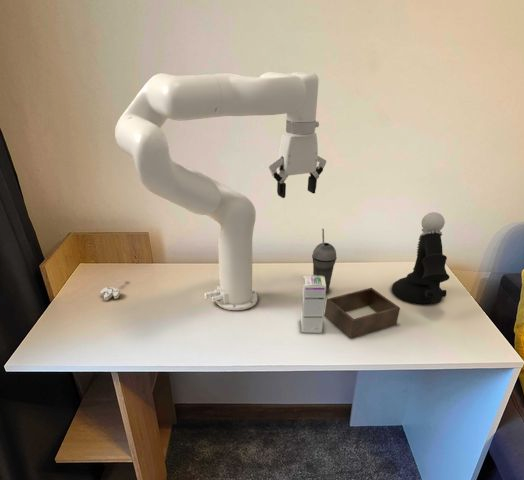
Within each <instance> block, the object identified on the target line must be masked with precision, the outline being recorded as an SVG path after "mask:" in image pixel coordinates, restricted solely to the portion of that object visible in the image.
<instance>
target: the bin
mask: <svg viewBox="0 0 524 480" xmlns="http://www.w3.org/2000/svg"><path fill="white" fill-rule="evenodd" d="M364 307H369V308H371V309H373V310H374V311H375V312H374V313H370V314H367V315H362V316H359V317H356V318H353V317H352V316H351V315H349V313H347V312H350V311H353V310H357V309H361V308H364ZM400 310H401V307H400V306H398V305H397V304H395V303H394V302H393V301H391V300H390V299H388V298H387V297H386V296H385V295H383V294H381V293H380V292H379V291H377V290H376V289H375V288H373V287H369V288H365V289H364V288H363V289H360V290H356V291H353V292H348V293H345V294H341V295H337V296H333V297H329V298H326V299H325V308H324V317H326V318H327V319H328V320H329V321H330V322H331V323H332V324H334V326H336V327H337V328H338V329H339V330H340V331H341V332H342V333H343V334H345V335H346V336H347V337H348V338H349V339H353V338H356V337H360V336H363V335H367V334H370V333H372V332H373V333H374V332H377V331H380V330H383V329H386V328H391V327H394V326H397V324H398V319H399V315H400Z"/></svg>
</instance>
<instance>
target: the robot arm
mask: <svg viewBox="0 0 524 480" xmlns="http://www.w3.org/2000/svg"><path fill="white" fill-rule="evenodd" d="M318 94H319V76H318V75H317V73H315V72H312V71H293V72H289V73H287V72H277V71H267V72H264V73H263V74H261V75H260V76H259V77H257V76H256V77H255V76H247V75H242V74H235V73H225V72H221V73H208V74H189V75H173V74H170V73H165V72H160V73H157V74H155V75H153V76H151V77H150V79H148V80H147V82H146V83H145V84H144V85H143V86H142V88H141V89H140V90H139V91H138V93H137V94H136V96H135V97H134V98H133V100H132V101H131V102H130V104H129V105H128V107H126V108H125V110H124V112H123V113H122V114H121V116H120V117H119V119H118V121H117V123H116V125H115V129H114V136H115V141H116V143H117V146H118V147H119V149H121V150H122V151H123V152H124V153H126V154H127V155H128V156H130V157H132V159H133V161H134V165H135V169H136V170H135V171H136V173H137V176H138V178H139V180H140V182H141V184H142V185H143V186H144V187H145V188H146V189H147V190H148V191H149V192H151V193H152V194H153V195H156V196H157V197H160V198H162V199H165V200H167V201H169V202H170V203H173V204H175V205H177V206H179V207H181V208H184V209H185V210H187V211H189V212H191V213H193V214H196V215H199V216H200V215H201V216H207V217H209V218H211V220H214V221H215V222H216V223H218V224H219V225H220V231H219V235H218V240H217V253H218V255H217V256H218V272H219V285H216V289H214V290H213V291H207V292H204V293H203V295H204V299H205V300H210V299H211V302H215V304H216V305H217V306H219V307H220V308H222V309H225V310H228V311H244V310H248V309H251V308H252V307H254V306H256V304H257V303H258V294H257V293H256V291H254V290H253V236H254V229H255V224H256V220H257V219H256V218H257V213H256V208H255V205H254V203H253V202H252V200H250V199H249V198H248V197H247V196H246V195H245V194H242V193H241V192H239V191H237V190H235V189H232V188H231V187H230V186H227V184H224V183H222V182H219V181H218V180H216V179H213V178H211V177H210V176H208V175H206V174H204V173H202V172H200V171H198V170H196V169H194V168H191V167H184V166H183V165H181V164H179V163H177V162H176V161H173V159H172V158H171V155H170V150H169V141H168V139H167V137H166V134H165V132H164V131H163V130H162V129H161V128H162V127H163V126H164V124H166V121H167V120H168V119H170V120H172V121H180V122H181V121H192V120H201V119H211V118H219V117H220V118H221V117H247V116H249V117H250V116H251V117H253V116H278V115H285V114H286V116H285V117H286V118H285V119H286V123H285V132H283V133H282V135H281V139H280V145H279V150H278V151H279V152H278V159H277V160H275V161H274V162H273V163H272V164H270V165H269V166H268V169H269V171H270V173H271V176H272V178H274V179H275V181H276V182H277V183H276V192H277V195H278V197H280V198H281V199H285V198H286V195H287V194H286V193H287V190H286V189H287V183H286V182H285V181H286V180H287V179H288V177H289V176H298V175H304V174H309V176H308V178H307V191H308V192H309V193H311V194H316V189H317V183H318V179H319V178H320V175H321V174H322V173H323V171H324V168H325V166H326V164H327V160H326V159H325V158H323V157H320V155H319V153H318V152H319V146H318V145H319V144H318V136H317V135H318V134H317V133H316V128H319V126H320V123H319V121H317V106H318ZM277 169H278V171H279V172H278V171H277Z"/></svg>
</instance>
